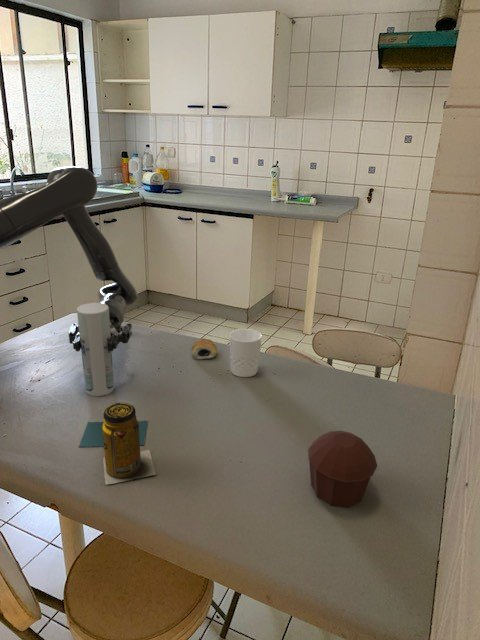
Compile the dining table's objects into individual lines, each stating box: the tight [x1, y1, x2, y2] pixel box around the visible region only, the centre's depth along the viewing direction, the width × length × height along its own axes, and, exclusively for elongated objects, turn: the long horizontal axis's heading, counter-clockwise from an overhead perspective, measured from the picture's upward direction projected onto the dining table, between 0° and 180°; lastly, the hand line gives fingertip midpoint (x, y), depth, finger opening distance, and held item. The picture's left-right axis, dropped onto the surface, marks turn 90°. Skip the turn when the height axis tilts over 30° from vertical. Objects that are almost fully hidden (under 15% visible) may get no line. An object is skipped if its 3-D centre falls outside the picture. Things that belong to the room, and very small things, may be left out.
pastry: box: [191, 337, 218, 360], centre depth 125 cm, size 9×7×4 cm
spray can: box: [76, 302, 115, 397], centre depth 102 cm, size 6×6×20 cm
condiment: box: [102, 402, 157, 486], centre depth 80 cm, size 7×8×12 cm
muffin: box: [307, 430, 378, 508], centre depth 77 cm, size 12×11×10 cm
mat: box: [78, 420, 149, 448], centre depth 91 cm, size 12×8×1 cm, turn 95°
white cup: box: [229, 328, 263, 378], centre depth 115 cm, size 8×8×10 cm
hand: (93, 347), depth 100 cm, fingers closed on spray can, 6 cm apart
